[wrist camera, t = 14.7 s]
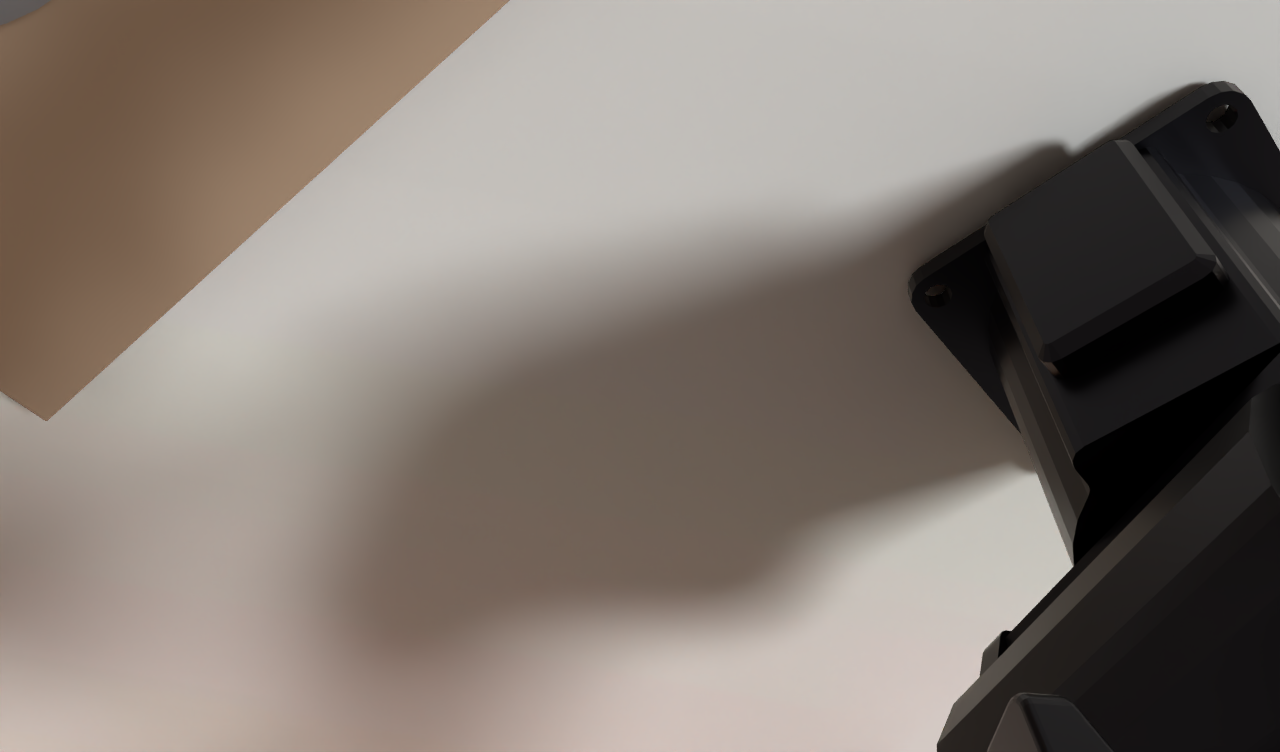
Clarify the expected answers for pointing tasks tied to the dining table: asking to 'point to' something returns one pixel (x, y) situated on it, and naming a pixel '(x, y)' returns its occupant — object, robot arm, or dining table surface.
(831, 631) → the dining table surface
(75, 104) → the duct base
